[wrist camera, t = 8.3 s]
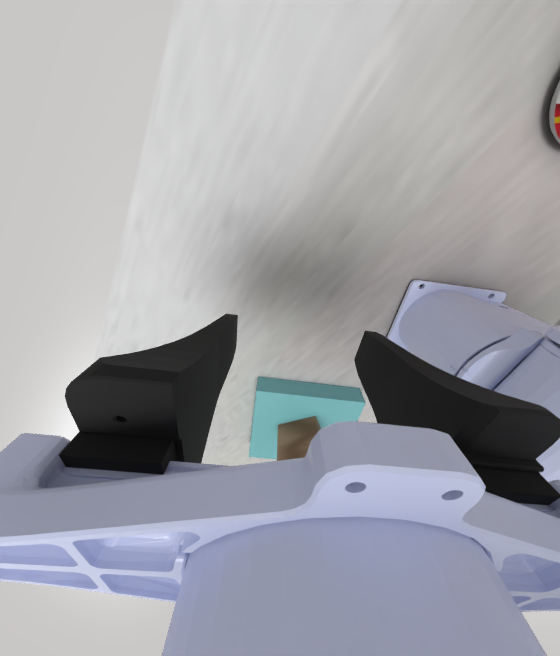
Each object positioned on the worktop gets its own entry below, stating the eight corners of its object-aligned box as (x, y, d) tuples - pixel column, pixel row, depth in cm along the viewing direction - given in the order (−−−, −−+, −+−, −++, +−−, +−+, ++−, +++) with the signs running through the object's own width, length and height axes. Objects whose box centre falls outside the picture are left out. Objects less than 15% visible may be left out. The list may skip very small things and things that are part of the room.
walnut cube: (315, 415, 27) (321, 455, 23) (325, 439, 29) (333, 480, 25) (277, 424, 28) (276, 464, 24) (290, 447, 30) (291, 487, 26)
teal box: (358, 384, 29) (365, 402, 26) (333, 445, 35) (337, 464, 32) (258, 373, 28) (256, 390, 25) (251, 437, 34) (248, 456, 32)
